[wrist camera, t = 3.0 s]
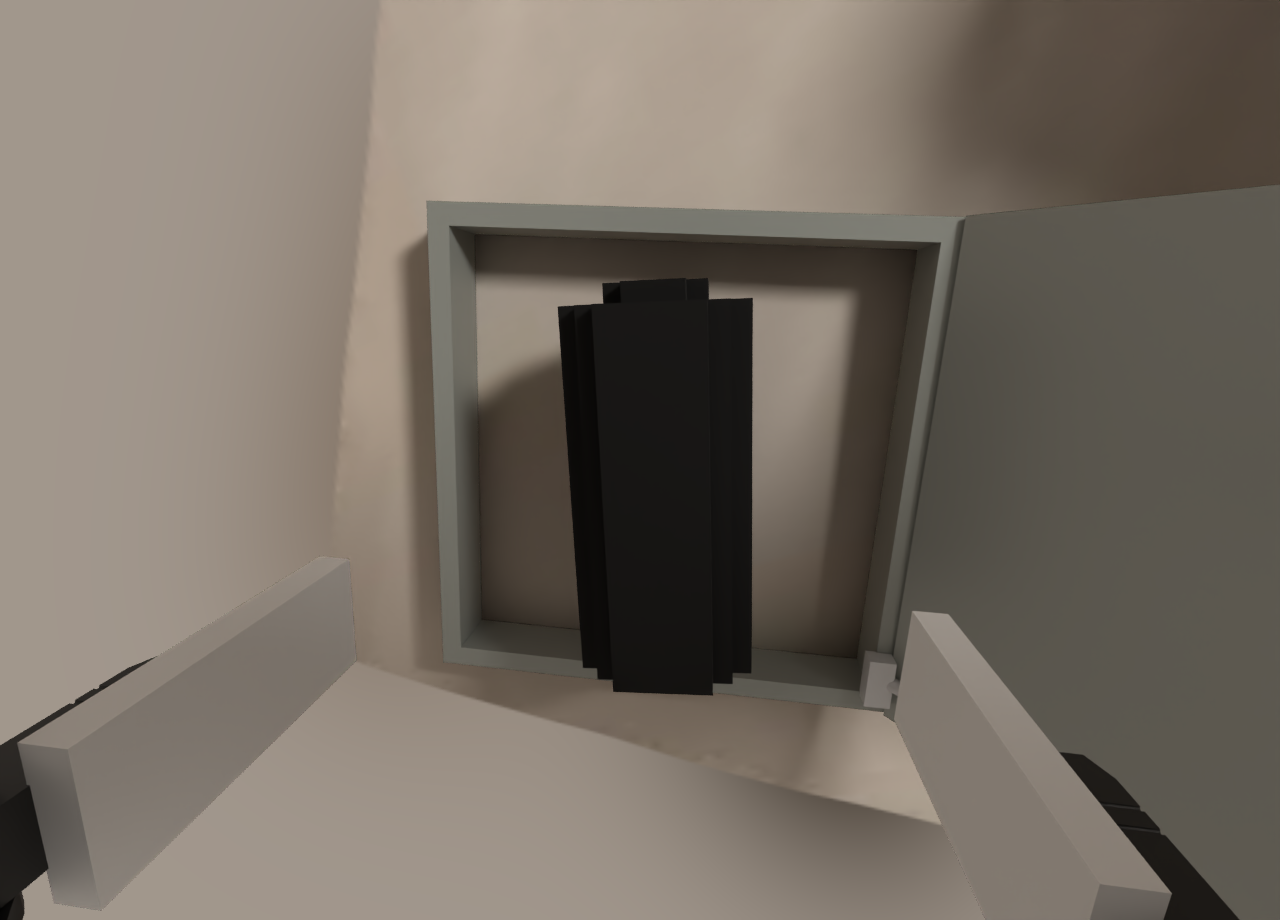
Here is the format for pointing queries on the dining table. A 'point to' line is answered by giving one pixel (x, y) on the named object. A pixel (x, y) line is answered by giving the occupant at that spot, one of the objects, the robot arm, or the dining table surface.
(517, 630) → the case
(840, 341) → the dining table surface
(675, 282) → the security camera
